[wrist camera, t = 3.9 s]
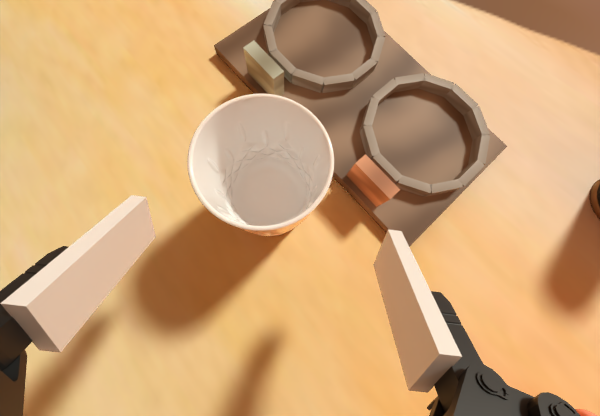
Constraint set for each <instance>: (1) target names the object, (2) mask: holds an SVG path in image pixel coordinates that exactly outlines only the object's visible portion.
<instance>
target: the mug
mask: <svg viewBox="0 0 600 416" xmlns="http://www.w3.org/2000/svg"><path fill="white" fill-rule="evenodd" d="M590 201H591V206H592V208H593V210H594V212H595V214H596V215H597V216H598V218H599V219H600V180H598V181H596V182H595V184H594V185H593V186H592V189H591V191H590Z"/></svg>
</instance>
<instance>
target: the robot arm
mask: <svg viewBox="0 0 600 416" xmlns="http://www.w3.org/2000/svg"><path fill="white" fill-rule="evenodd" d="M155 237H156V236H155V232H154V227H153V223H152V219H151V215H150V210H149V206H148V202H147V198H146V197H142V196H134V195H131V196H130V197H129V198H128V199H126V200H125V201H124V202H123V203H122V204H120V205H119V206H118V207H117V208H116V209H114V210H113V211H112V212H111V213H109V214H108V215H107V216H106V217H105V218H103V219H102V220H101V221H100V222H99V223H97V224H96V225H95V226H94V227H92V228H91V229H90V230H89V231H88V232H86V233H85V234H84V235H83V236H82V237H80V238H79V239H78V240H77V241H75V242H74V243H73V244H72V245H71V246H69V247H66V246H63V247H60V248H58V249H56V250H54V251H52V252H50V253H48V254H47V255H46V256H44V257H43V258H42V259H41V260H39V261H38V262H37V263H35V266H32V267H30V268H29V269H28V270H27V271H25V274H21V275H20V276H19V277H18V278H16V279H15V280H14V281H12V282H11V283H10V284H9V285H7V286H6V287H5V288H4V289H2V290H1V291H0V416H23V404H24V391H25V377H26V364H27V354H26V351H25V348H26V347H27V346H28V345H29V344H30V343H31V342H33V343H34V344H35V345H36V347H37V348H38V349H39V350H43V351H52V352H62V351H63V349H64V348H65V347H66V346H67V344H68V343H69V342H70V341H71V340H72V338H73V337H74V336H75V335H76V333H77V332H78V331H79V330H80V329H81V327H82V326H83V325H84V324H85V322H86V321H87V320H88V319H89V318H90V316H91V315H92V314H93V313H94V312H95V310H96V309H97V308H98V307H99V305H100V304H101V303H102V302H103V301H104V299H105V298H106V297H107V296H108V294H109V293H110V292H111V291H112V290H113V288H114V287H115V286H116V285H117V284H118V282H119V281H120V280H121V279H122V277H123V276H124V275H125V274H126V273H127V271H128V270H129V269H130V268H131V266H132V265H133V264H134V263H135V262H136V260H137V259H138V258H139V257H140V256H141V254H142V253H143V252H144V251H145V249H146V248H147V247H148V246H149V245H150V243H151V242H152V241H153V240H154V238H155ZM373 265H374V269H375V272H376V276H377V279H378V283H379V287H380V290H381V294H382V297H383V301H384V304H385V308H386V312H387V315H388V319H389V322H390V326H391V329H392V333H393V337H394V340H395V344H396V347H397V351H398V355H399V358H400V362H401V365H402V369H403V372H404V376H405V380H406V383H407V387H408V390H410V391H419V392H429V391H430V390H431V389H432V387H433V386H435V388H436V391H437V394H438V397H437V398H436V399H434V400H433V401H432V402H431V403H430V404H429V406H428V407H427V409H428V410H431V409H432V410H431V412H430V415H429V416H580V414H579V413H578V412H577V411H576V410H575V409H574V408H573V407H572V406H571V405H570V404H568V403H567V402H566V401H564V400H563V399H561V398H560V397H558V396H556V395H554V394H551V393H548V392H547V393H540V394H539V395H537V396H536V397H533V396H530V395H528V394H526V393H523V392H521V391H519V390H517V389H514V388H512V387H510V386H508V385H507V384H506V383H505V382H504V381H503V379H502V378H501V377H500V376H499V375H498V374H497V373H496V372H495V371H493V370H492V369H491V368H489V367H487V366H485V365H484V364H483V363H482V361H481V359H480V357H479V355H478V354H477V352H476V350H475V348H474V346H473V344H472V342H471V341H470V339H469V337H468V335H467V333H466V331H465V329H464V328H463V326H461V322H460V320H459V318H458V316H456V313H455V311H454V309H453V307H452V305H451V303H450V302H449V301H448V300H447V299H446V298H445V297H444V296H443V295H442V293H441V292H433V291H430V289H429V287H428V285H427V283H426V281H425V279H424V277H423V274H422V272H421V270H420V268H419V266H418V264H417V262H416V260H415V258H414V256H413V254H412V252H411V250H410V248H409V245H408V243H407V241H406V239H405V237H404V235H403V233H402V231H397V230H389V229H388V231H387V233H386V235H385V238H384V240H383V243H382V245H381V248H380V250H379V252H378V255H377V257H376V260H375V262H374V264H373Z"/></svg>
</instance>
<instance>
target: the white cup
mask: <svg viewBox="0 0 600 416" xmlns="http://www.w3.org/2000/svg"><path fill="white" fill-rule="evenodd" d="M333 171H334V153H333V148H332V144H331V141H330V138H329V136H328V133H327V131H326V130H325V128H324V126H323V125H322V123H321V122H320V121H319V120H318V118H317V117H316V116H315V115H314V114H313V113H312V112H310V111H309V110H308V109H307V108H305V107H304V106H302V105H301V104H299V103H297V102H295V101H293V100H291V99H288V98H286V97H282V96H278V95H273V94H249V95H244V96H240V97H237V98H234V99H231V100H229V101H227V102H225V103H223V104H221V105H220V106H218V107H217V108H215V109H214V110H213V111H212V112H210V113H209V114H208V115H207V116H206V117H205V118H204V120H203V121H202V122H201V123H200V125H199V126H198V128H197V129H196V131H195V133H194V135H193V138H192V140H191V143H190V147H189V151H188V174H189V178H190V182H191V185H192V187H193V190H194V192H195V194H196V195H197V197H198V199H199V200H200V201H201V203H202V204H203V205H204V206H205V207H206V208H207V209H208V210H209V211H210V212H211V213H212V214H213V215H214V216H216V217H217V218H219V219H220V220H222V221H224V222H226V223H228V224H230V225H232V226H235V227H237V228H240V229H242V230H245V231H247V232H250V233H253V234H257V235H263V236H275V235H282V234H284V233H286V232H288V231H290V230H292V229H294V228H295V227H296V226H298V225H299V224H300V223H301V222H303V221H304V220H305V219H306V218H307V217H308V215H309V214H310V213H311V212H312V211H313V210H314V209H315V208H316V207H317V206H318V204H319V203H320V202H321V201H322V199H323V198H324V196H325V194H326V192H327V191H328V188H329V186H330V183H331V180H332V176H333Z"/></svg>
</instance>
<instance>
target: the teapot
mask: <svg viewBox="0 0 600 416" xmlns="http://www.w3.org/2000/svg"><path fill="white" fill-rule="evenodd" d="M576 411H577V412H578V413H579V414H580V416H597V415H595V414H593V413H592V412H589V411H586V410H583V409H576Z"/></svg>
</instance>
